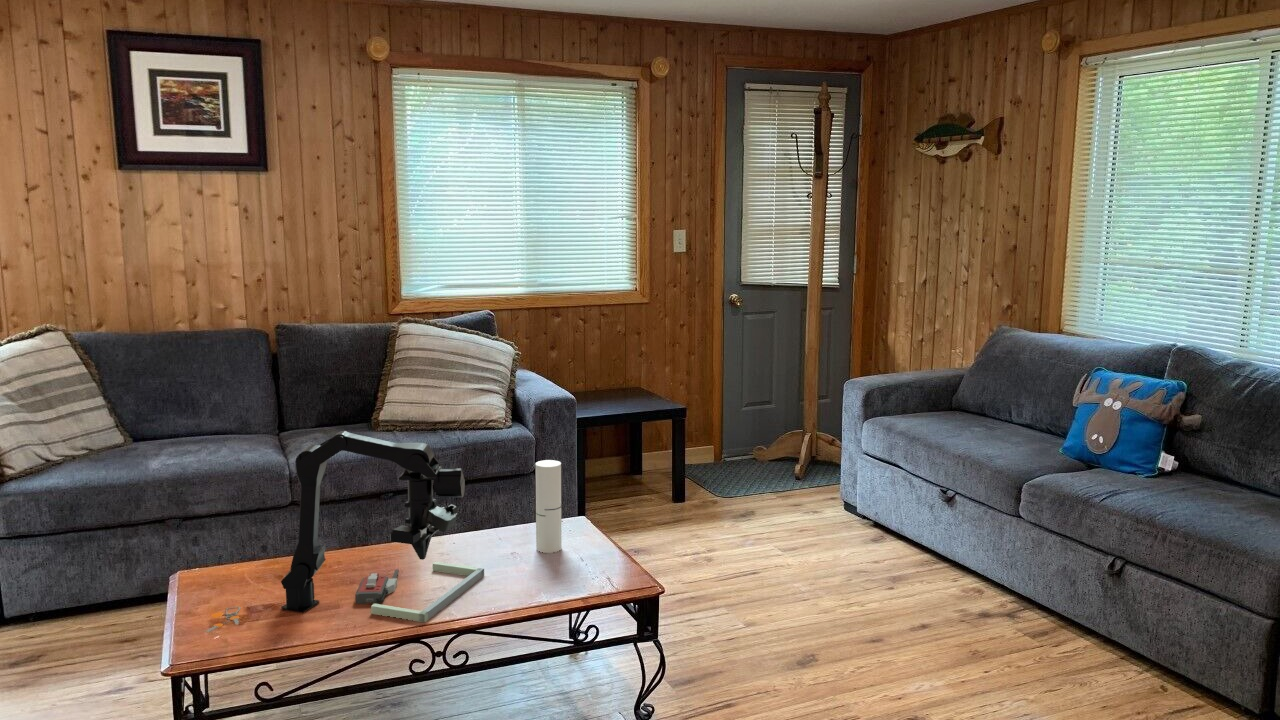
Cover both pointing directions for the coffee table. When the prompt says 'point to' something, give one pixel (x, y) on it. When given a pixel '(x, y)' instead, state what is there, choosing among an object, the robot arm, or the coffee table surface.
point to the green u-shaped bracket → (430, 611)
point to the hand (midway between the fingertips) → (422, 559)
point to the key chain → (230, 616)
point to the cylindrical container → (548, 506)
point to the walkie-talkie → (375, 588)
